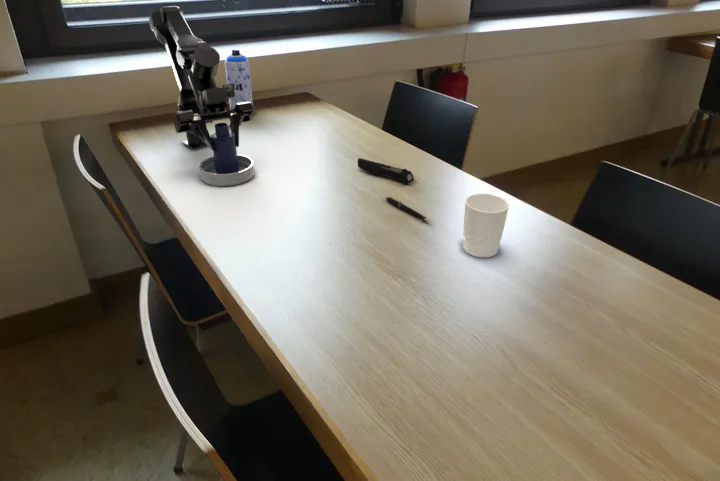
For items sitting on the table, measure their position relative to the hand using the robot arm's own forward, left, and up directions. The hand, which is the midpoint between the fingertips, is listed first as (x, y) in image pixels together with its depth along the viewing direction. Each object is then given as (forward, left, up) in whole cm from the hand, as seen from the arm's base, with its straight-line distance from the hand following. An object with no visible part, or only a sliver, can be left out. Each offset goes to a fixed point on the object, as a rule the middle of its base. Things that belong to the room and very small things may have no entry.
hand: (226, 148), depth 127 cm
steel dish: (-1, 0, -8) cm, 8 cm away
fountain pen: (+41, +21, -8) cm, 46 cm away
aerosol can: (-43, +29, -8) cm, 52 cm away
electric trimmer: (+24, +30, -8) cm, 39 cm away
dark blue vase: (-1, 0, -7) cm, 7 cm away
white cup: (+61, +21, -8) cm, 65 cm away
